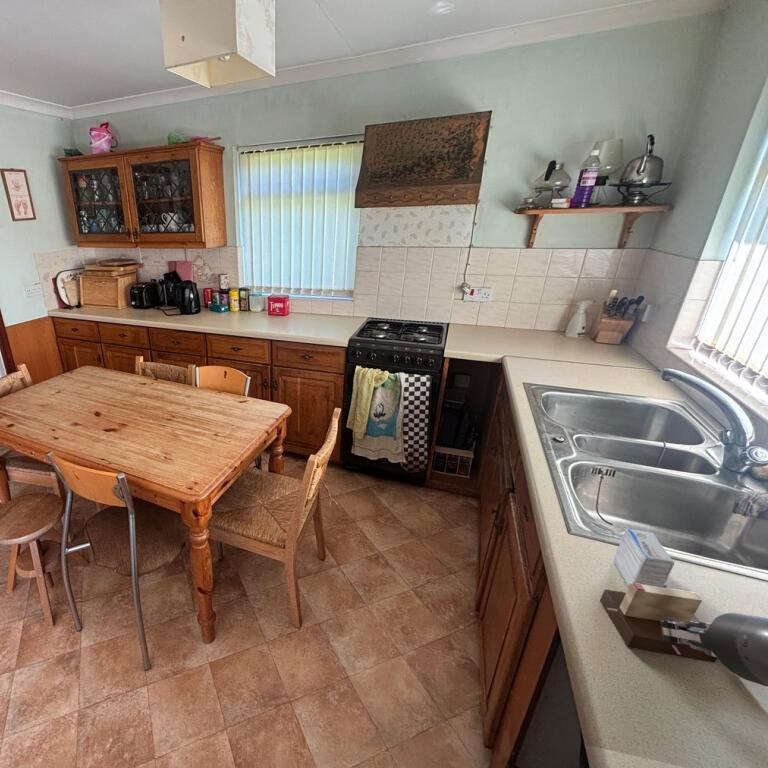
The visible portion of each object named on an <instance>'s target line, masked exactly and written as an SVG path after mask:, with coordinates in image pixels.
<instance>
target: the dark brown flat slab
mask: <svg viewBox="0 0 768 768" xmlns="http://www.w3.org/2000/svg"><path fill="white" fill-rule="evenodd" d="M629 585H630V584H629ZM626 593H627V591H626V592H624V591H618V590H613V589H604V590H603V591H602V595H601V597H600V599H599V602H600V604H601V606H602V607H603V609H604V610H605V612H606V614H607V616H608V618H609V619H610V621H611V622H612V624H613V626H614V628H615V629H616V631H617V633H618V634H619V635H620V637H621V639H622V641H623V642H624V644H625V646H626V647H627V648H628V649H635V650H640V651H646V652H652V653H657V654H662V655H667V656H673V657H680V658H685V659H690V660H696V661H702V662H707V663H713V664H716V662H717V661H718V660H719V659H718V658H717V657H714V656H710V655H707V654H705V652H703V651H700V650H697V649H693V648H691V647H690V645H689V644H687V643H683V642H682V641H681V643H673V642H672V643H668V642H667V641H664V640H663V636H662V635H663V634H662V630H661V624H660V621H656V620H650V619H644V618H638V617H632V616H625V615H624V614H623V612H622V611H621V609H620V605H621V603H622V601H623V599H624V597H625V595H626ZM695 615H696V614H694V615H693V617H692V619H691V621H692V622H698V623H699V622H700V620H699V618H697V617H696V616H695Z"/></svg>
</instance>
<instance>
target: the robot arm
mask: <svg viewBox="0 0 768 768" xmlns="http://www.w3.org/2000/svg"><path fill="white" fill-rule="evenodd" d="M660 624H661V630H662V634H663V635H662V636H663V640H664V641H667V642H668V643H672V642H673V643H681V641H682V642H683V643H687V644H689V645H690V647H691V648H693V649H697V650H700V651H703V652H705V654H707V655H710V656H714V657H717V658H718V659H717V660H718V661H719V662H720V663H721V664H722V665H723V666H724V667H725V668H726V669H727V670H728V671H730V672H731V673H732V674H734V675H735V676H737V677H739V678H741V679H742V680H745V681H748V682H751V683H754V684H757V685H760V686H764V687H766V688H768V617H763V616H757V615H750V614H745V613H739V612H738V613H737V612H727V613H722V614H720V615H718V616H716V618H714V619H713V620H712V621H711V622H705V621H699V623H698V622H692V621H685V623H684V622H680V623H679V622H674V621H672V620H662V621H660Z"/></svg>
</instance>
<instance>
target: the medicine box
mask: <svg viewBox="0 0 768 768" xmlns="http://www.w3.org/2000/svg"><path fill="white" fill-rule="evenodd" d="M612 560H613V562H614V564H615V566H616V567H617V569H618V571H619V573H620V574H621V576H622V577H623V579H624V581H625V583H626V585H627V586H628V587H629V586H630V585H629V584H631V583H640V584H643V585H649V586H656V587H663V588H664V586H665V584H666V582H667V580H668V578H669V576H670V574H671V572H672V570H673V568H674V565H675V561H674V560H673V559H672V558H671V556H670V555H669V553H668V552H667V551H666V549H665V548H664V547H663V545H662V544H661V543H660V541H659V539H658V538H657V537H656V536H655V534H654V533H652V532H648V531H644V530H639V529H638V530H637V529H632V528H631V529H629V528H626V529H625V531H624V533H623V535H622V538H621V541H620V543H619V545H618V548H617V550H616V552H615V554H614V557H613V559H612Z"/></svg>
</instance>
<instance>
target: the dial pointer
mask: <svg viewBox="0 0 768 768" xmlns="http://www.w3.org/2000/svg"><path fill="white" fill-rule="evenodd" d="M702 602H703V599H702V598H701V597H700V596H699V595H698V594H697V592H695V591H688V590H682V589H676V588H670V587H664V586H663V587H656V586H649V585H643V584H640V583H631V584H630V586H628V588H627V590H626V595H625V597H624V599H623V601H622V603H621V605H620V609H621V611H622V612H623V614H624V615H625V616H632V617H638V618H644V619H650V620H656V621H662V620H672V621H674V622H679V623H680V622H684V623H685V621H691V619H692V617H693V615H696V612H697V610H698V608H699V607H700V605H701V603H702Z"/></svg>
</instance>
